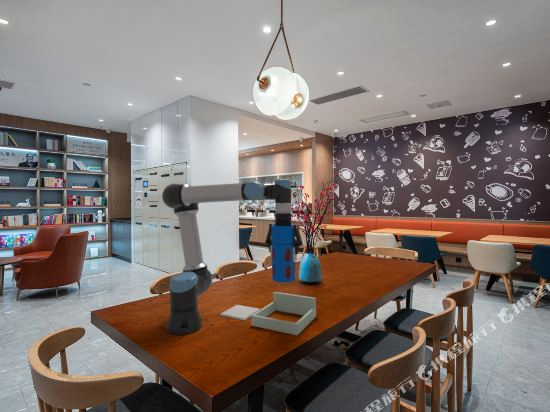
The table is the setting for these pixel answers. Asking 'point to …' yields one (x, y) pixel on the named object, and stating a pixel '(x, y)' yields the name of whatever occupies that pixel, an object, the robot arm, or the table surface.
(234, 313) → the tile
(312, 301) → the frame
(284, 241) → the thermos
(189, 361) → the table surface
